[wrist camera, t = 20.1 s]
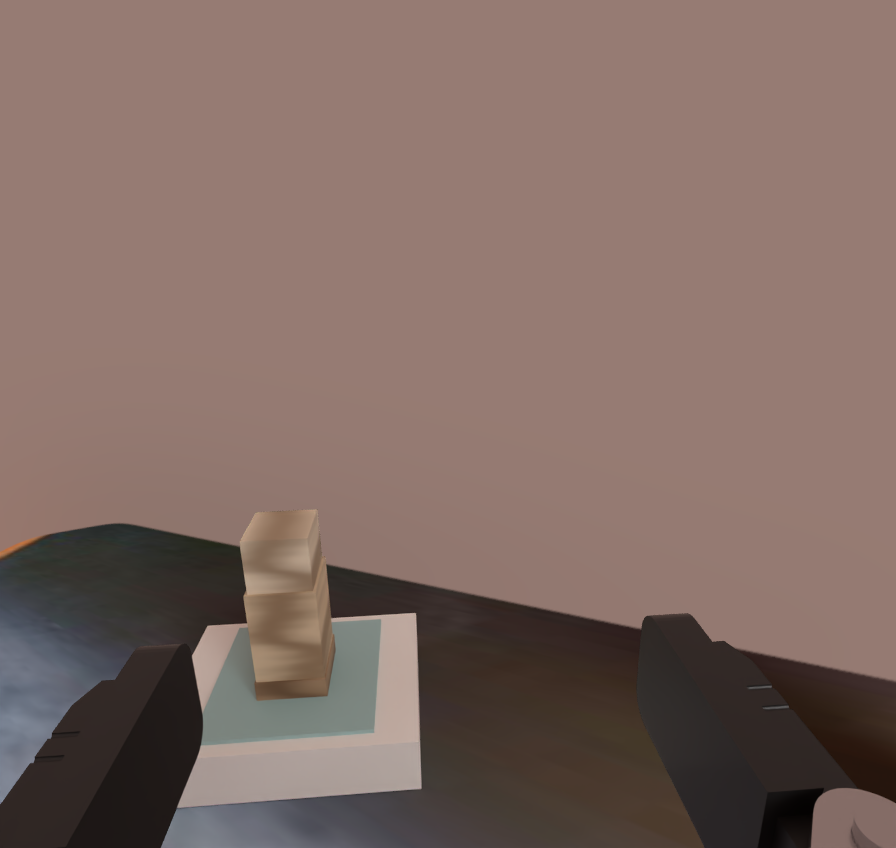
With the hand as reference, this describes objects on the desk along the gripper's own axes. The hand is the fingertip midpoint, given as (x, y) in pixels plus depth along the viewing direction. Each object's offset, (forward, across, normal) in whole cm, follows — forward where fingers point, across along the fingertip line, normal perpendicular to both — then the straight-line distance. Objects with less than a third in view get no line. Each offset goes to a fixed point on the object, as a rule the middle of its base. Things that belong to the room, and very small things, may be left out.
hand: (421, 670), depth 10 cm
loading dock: (+29, +10, +28) cm, 41 cm away
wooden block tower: (+29, +10, +24) cm, 38 cm away
